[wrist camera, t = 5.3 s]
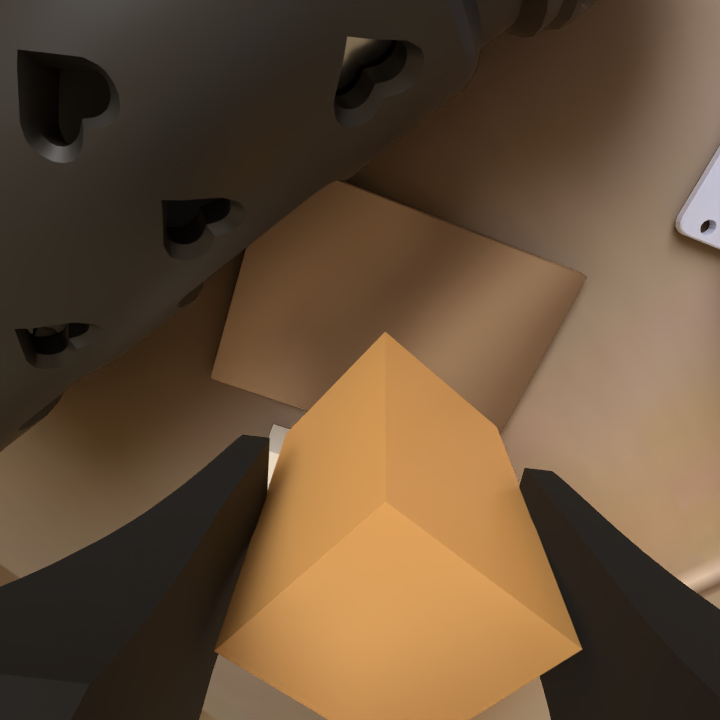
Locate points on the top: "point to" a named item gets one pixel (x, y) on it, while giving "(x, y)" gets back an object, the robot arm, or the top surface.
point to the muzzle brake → (191, 148)
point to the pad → (388, 302)
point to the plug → (395, 557)
